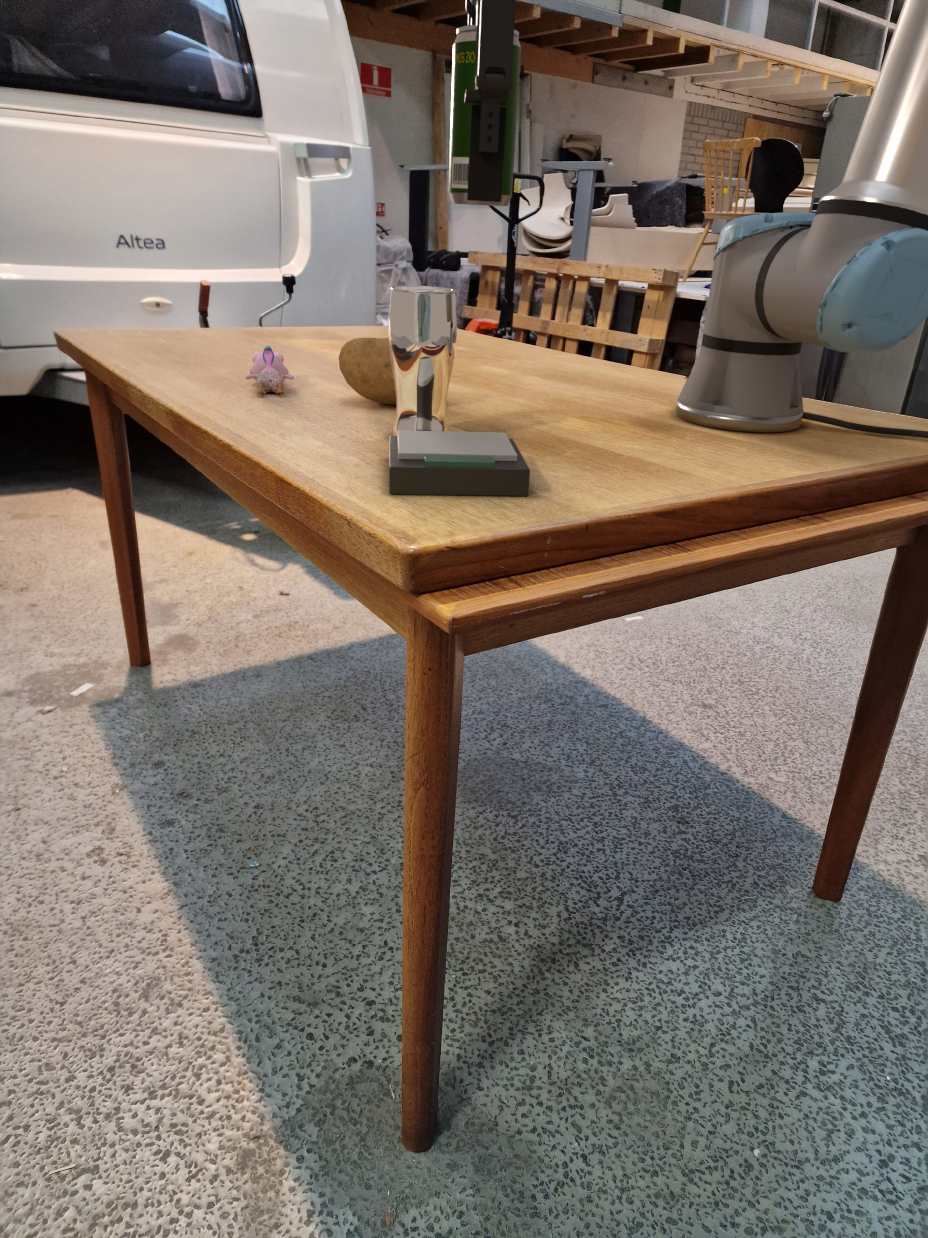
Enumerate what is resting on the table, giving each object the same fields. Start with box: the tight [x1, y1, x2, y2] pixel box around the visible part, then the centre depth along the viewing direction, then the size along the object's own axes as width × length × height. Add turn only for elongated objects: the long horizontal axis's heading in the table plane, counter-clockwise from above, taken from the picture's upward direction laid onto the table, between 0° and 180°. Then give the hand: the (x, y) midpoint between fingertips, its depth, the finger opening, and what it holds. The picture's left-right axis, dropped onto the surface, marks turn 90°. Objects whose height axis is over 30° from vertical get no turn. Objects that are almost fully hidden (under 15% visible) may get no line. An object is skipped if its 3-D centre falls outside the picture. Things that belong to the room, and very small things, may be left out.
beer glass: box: [387, 285, 458, 436], centre depth 85 cm, size 7×7×15 cm
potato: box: [338, 337, 396, 406], centre depth 102 cm, size 10×14×8 cm
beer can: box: [447, 25, 522, 207], centre depth 66 cm, size 5×5×12 cm
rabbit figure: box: [244, 344, 295, 397], centre depth 109 cm, size 6×6×15 cm
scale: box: [388, 430, 531, 497], centre depth 75 cm, size 12×11×3 cm
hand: (480, 200), depth 69 cm, fingers closed on beer can, 5 cm apart
